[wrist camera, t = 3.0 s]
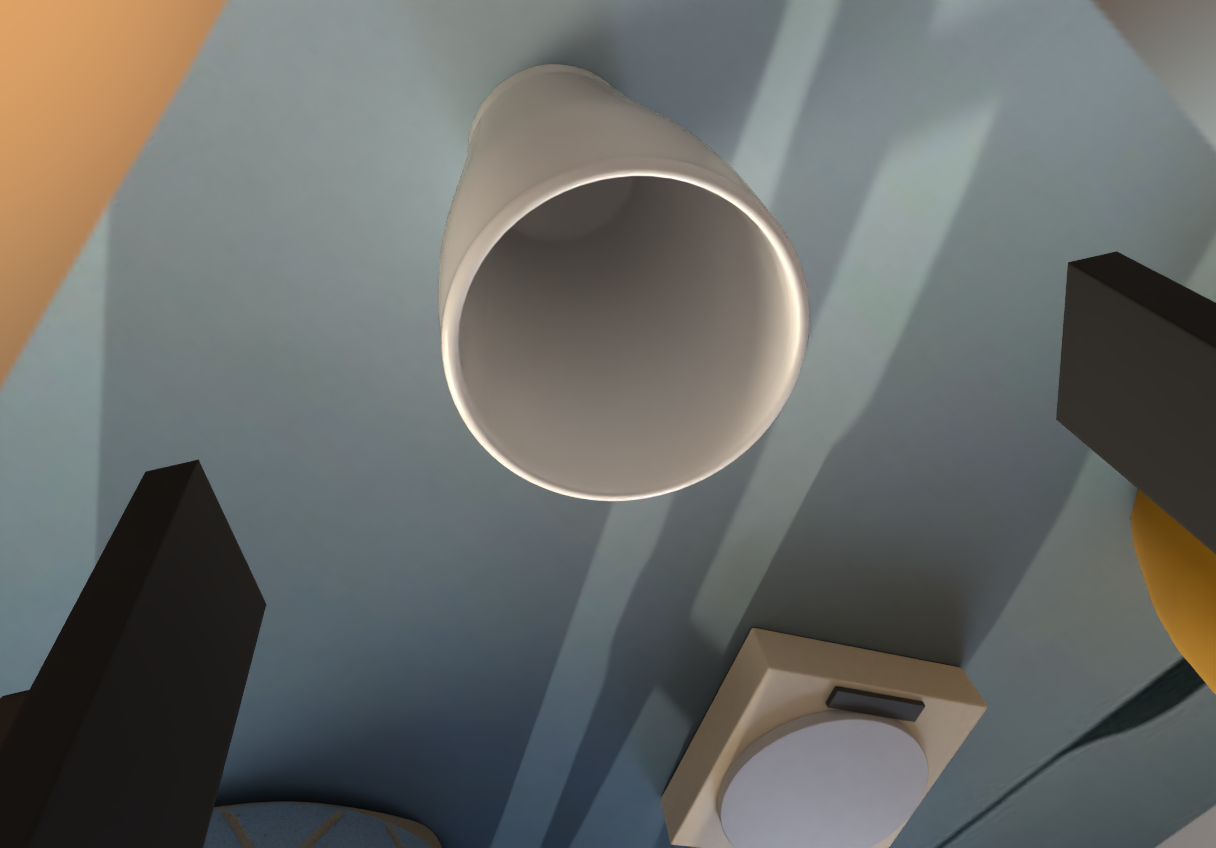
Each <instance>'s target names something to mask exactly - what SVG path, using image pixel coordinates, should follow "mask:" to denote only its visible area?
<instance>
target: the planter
mask: <svg viewBox="0 0 1216 848" xmlns="http://www.w3.org/2000/svg"><path fill="white" fill-rule="evenodd" d="M203 848H442V846H441V844H440V842H439V841H438V839H437V837H436V836H435V834H434V833H433V832H432V831H431V830H430V829H429V828H428V827H426V826H424V825H422V824H420V823H417V822H415V821H412V820H408V819H405V818H401V817H397V816H393V815H389V814H384V813H379V812H374V811H369V810H363V809H358V808H352V807H345V806H338V805H330V804H322V803H310V802H290V801H286V802H257V803H245V804H235V805H227V806H219V807H214V808H213V812H212V816H211V820H210V824H209V828H208V832H207V835H206V839H205V843H204V847H203Z"/></svg>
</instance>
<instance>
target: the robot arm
mask: <svg viewBox="0 0 1216 848" xmlns="http://www.w3.org/2000/svg"><path fill="white" fill-rule="evenodd" d="M1056 420H1058V421H1059V422H1060V423H1061V424H1062V425H1064V426H1065V427H1066V428H1067V429H1068V430H1069V431H1071V432H1072V433H1073V434H1074V435H1075V436H1077V437H1078V438H1079V439H1080V440H1081V441H1082V442H1084V443H1085V444H1086V445H1087V446H1088V447H1090V448H1091V449H1092V450H1093V451H1094V452H1095V453H1097V454H1098V455H1099V456H1100V457H1101V458H1103V459H1104V460H1105V461H1106V462H1107V463H1108V464H1110V465H1111V466H1112V467H1113V468H1114V469H1115V470H1117V471H1118V472H1119V473H1120V474H1121V475H1123V476H1124V477H1125V478H1126V479H1127V480H1128V481H1130V482H1131V483H1132V484H1133V485H1134V486H1136V487H1137V488H1138V489H1139V490H1140V491H1141V492H1143V493H1144V494H1145V495H1146V496H1147V497H1149V498H1150V499H1151V500H1152V501H1153V502H1154V503H1156V504H1157V505H1158V506H1159V507H1160V508H1162V509H1163V510H1164V511H1165V512H1166V513H1167V514H1169V515H1170V516H1171V517H1172V518H1173V519H1174V520H1176V521H1177V522H1178V523H1179V524H1180V525H1182V526H1183V527H1184V528H1185V529H1186V530H1187V531H1189V532H1190V533H1191V534H1192V535H1193V536H1195V537H1196V538H1197V539H1198V540H1199V541H1200V542H1202V543H1203V544H1204V545H1205V546H1206V547H1208V548H1209V549H1210V550H1211V551H1212V552H1213V553H1215V554H1216V303H1215V302H1213V301H1211V300H1209V299H1207V298H1205V297H1203V296H1201V295H1199V294H1197V293H1196V292H1194V291H1192V290H1190V289H1188V288H1186V287H1184V286H1182V285H1180V284H1178V283H1176V282H1174V281H1172V280H1171V279H1169V278H1167V277H1165V276H1163V275H1161V274H1159V273H1157V272H1155V271H1153V270H1151V269H1149V268H1147V267H1146V266H1144V265H1142V264H1140V263H1138V262H1136V261H1134V260H1132V259H1130V258H1128V257H1126V256H1124V255H1122V254H1121V253H1119V252H1112V253H1108V254H1104V255H1099V256H1095V257H1090V258H1086V259H1082V260H1077V261H1073V262H1068V271H1067V284H1066V297H1065V311H1064V324H1063V338H1062V351H1061V364H1060V378H1059V391H1058V404H1057V418H1056ZM265 607H266V603H265V601H264V598H263V596H262V594H261V592H260V590H259V588H258V586H257V583H256V581H255V579H254V577H253V575H252V573H251V571H250V569H249V566H248V564H247V562H246V560H245V558H244V556H243V554H242V551H241V549H240V547H239V545H238V543H237V541H236V539H235V537H234V534H233V532H232V530H231V528H230V526H229V524H228V522H227V519H226V517H225V515H224V513H223V511H222V509H221V507H220V505H219V502H218V500H217V498H216V496H215V494H214V492H213V490H212V488H211V485H210V483H209V481H208V479H207V477H206V475H205V473H204V470H203V468H202V466H201V464H200V462H199V460H195V461H191V462H186V463H182V464H177V465H173V466H169V467H164V468H160V469H155V470H151V471H147V472H145V474H144V476H143V477H142V479H141V481H140V483H139V485H138V487H137V489H136V491H135V492H134V494H133V496H132V498H131V500H130V502H129V504H128V506H127V508H126V509H125V511H124V513H123V515H122V517H121V519H120V521H119V523H118V524H117V526H116V528H115V530H114V532H113V534H112V536H111V538H110V540H109V541H108V543H107V545H106V547H105V549H104V551H103V553H102V555H101V556H100V558H99V560H98V562H97V564H96V566H95V568H94V570H93V572H92V573H91V575H90V577H89V579H88V581H87V583H86V585H85V587H84V588H83V590H82V592H81V594H80V596H79V598H78V600H77V602H76V604H75V605H74V607H73V609H72V611H71V613H70V615H69V617H68V619H67V620H66V622H65V624H64V626H63V628H62V630H61V632H60V634H59V635H58V637H57V639H56V641H55V643H54V645H53V647H52V649H51V651H50V652H49V654H48V656H47V658H46V660H45V662H44V664H43V666H42V667H41V669H40V671H39V673H38V675H37V677H36V679H35V681H34V683H33V684H32V686H31V688H30V690H27V691H23V692H18V693H14V694H10V695H6V696H2V698H1V699H0V848H203V847H204V843H205V839H206V835H207V832H208V828H209V824H210V820H211V816H212V812H213V808H214V804H215V801H216V797H217V793H218V789H219V785H220V781H221V777H222V774H223V770H224V766H225V762H226V758H227V754H228V750H229V746H230V743H231V739H232V735H233V731H234V727H235V723H236V719H237V716H238V712H239V708H240V704H241V700H242V696H243V692H244V688H245V685H246V681H247V677H248V673H249V669H250V665H251V661H252V658H253V654H254V650H255V646H256V642H257V638H258V634H259V630H260V627H261V623H262V619H263V615H264V611H265Z"/></svg>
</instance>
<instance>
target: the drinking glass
mask: <svg viewBox="0 0 1216 848" xmlns="http://www.w3.org/2000/svg"><path fill="white" fill-rule="evenodd" d="M438 306H439V326H440V336H441V344H442V358H443V365H444V372H445V376H446V380H447V384H448V387H449V390H450V393H451V395H452V398H453V401H454V403H455V405H456V407H457V409H458V411H459V413H460V415H461V417H462V419H463V420H464V422H465V424H466V425H467V427H468V428H469V430H470V431H471V433H472V434H473V435H474V436H475V438H476V439H477V440H478V441H479V443H480V444H481V445H482V446H483V447H484V448H485V449H486V450H487V451H488V452H489V453H490V454H491V455H492V456H493V457H494V458H495V459H497V460H498V461H499V462H500V463H501V464H503V465H504V466H505V467H507V468H508V469H509V470H511V471H512V472H514V473H515V474H517V475H518V476H520V477H522V478H524V479H526V480H528V481H529V482H531V483H533V484H536V485H538V486H540V487H543V488H545V489H547V490H551V491H554V492H557V493H560V494H563V495H567V496H572V497H576V498H582V499H589V500H600V501H628V500H637V499H645V498H650V497H655V496H660V495H663V494H667V493H670V492H674V491H677V490H680V489H682V488H685V487H688V486H690V485H693V484H695V483H697V482H699V481H701V480H703V479H705V478H707V477H709V476H711V475H713V474H714V473H716V472H718V471H720V470H721V469H723V468H724V467H726V466H727V465H729V464H730V463H731V462H733V461H734V460H736V459H737V458H738V457H739V456H740V455H742V454H743V453H744V452H745V451H747V450H748V449H749V448H750V447H751V446H752V445H753V444H754V443H755V442H756V441H757V440H758V439H759V438H760V437H761V436H762V435H763V434H764V432H765V431H766V430H767V429H768V428H769V427H770V425H771V424H772V423H773V421H774V420H775V419H776V417H777V416H778V415H779V413H780V412H781V410H782V408H783V407H784V405H785V404H786V402H787V400H788V398H789V396H790V394H791V392H792V390H793V388H794V386H795V384H796V382H797V379H798V376H799V374H800V371H801V368H802V365H803V361H804V358H805V354H806V349H807V343H808V337H809V324H810V313H809V299H808V291H807V285H806V281H805V277H804V273H803V270H802V267H801V264H800V262H799V259H798V256H797V254H796V252H795V250H794V248H793V246H792V244H791V242H790V240H789V238H788V236H787V235H786V233H785V232H784V230H783V229H782V227H781V226H780V224H779V223H778V222H777V221H776V219H775V218H774V217H773V216H772V214H771V213H770V212H769V211H768V209H767V208H766V207H765V205H764V204H763V203H762V202H761V200H760V199H759V198H758V197H757V196H756V194H755V193H754V192H753V191H752V189H751V188H750V187H749V186H748V185H747V183H746V182H745V181H744V180H743V179H742V178H741V177H740V176H739V174H738V173H737V172H736V171H735V170H734V169H733V168H732V167H731V166H730V165H728V164H727V163H726V162H725V161H724V160H723V159H722V158H721V157H720V156H719V155H718V154H717V153H716V152H715V151H714V150H712V149H711V148H710V147H709V146H707V145H706V144H705V143H704V142H702V141H701V140H700V139H699V138H697V137H696V136H695V135H693V134H692V133H691V132H689V131H688V130H686V129H684V128H683V127H681V126H680V125H678V124H676V123H675V122H673V121H672V120H670V119H668V118H666V117H665V116H663V115H661V114H659V113H657V112H655V111H653V110H651V109H649V108H647V107H645V106H643V105H641V104H639V103H637V102H636V101H634V100H632V99H630V98H628V97H626V96H624V95H623V94H621V93H619V92H618V91H617V90H615V89H614V88H613V87H612V86H611V85H610V84H609V83H607V82H606V81H605V80H604V79H602V78H600V77H599V76H597V75H595V74H593V73H591V72H589V71H587V70H584V69H581V68H578V67H574V66H570V65H563V64H546V65H539V66H534V67H531V68H527V69H525V70H522V71H520V72H518V73H516V74H514V75H512V76H510V77H509V78H507V79H506V80H504V81H503V82H502V83H500V84H499V85H498V86H497V87H496V88H495V89H494V90H493V91H492V92H491V93H490V94H489V95H488V96H487V98H486V99H485V100H484V102H483V103H482V105H481V106H480V108H479V110H478V112H477V114H476V116H475V118H474V121H473V123H472V126H471V130H470V134H469V139H468V149H467V158H466V161H465V164H464V167H463V170H462V173H461V176H460V179H459V182H458V185H457V188H456V191H455V194H454V197H453V200H452V204H451V207H450V211H449V214H448V217H447V221H446V225H445V230H444V235H443V240H442V246H441V253H440V264H439V278H438Z"/></svg>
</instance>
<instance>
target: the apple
mask: <svg viewBox="0 0 1216 848" xmlns="http://www.w3.org/2000/svg"><path fill="white" fill-rule="evenodd" d="M1130 519H1131V527H1132V535H1133V543H1134V548H1135V551H1136V554H1137V557H1138V560H1139V564H1140V567H1141V570H1142V573H1143V576H1144V579H1145V582H1146V585H1147V588H1148V592H1149V595H1150V598H1151V601H1152V603H1153V606H1154V608H1155V610H1156V612H1157V614H1158V617H1159V619H1160V621H1161V622H1162V624H1163V626H1164V627H1165V629H1166V631H1167V632H1168V634H1169V636H1170V637H1171V639H1172V641H1173V642H1174V644H1175V646H1176V647H1177V649H1178V650H1179V651H1180V653H1181V654H1182V655H1183V656H1184V657H1185V659H1186V660H1187V661H1188V662H1189V663H1190V665H1191V666H1192V667H1193V668H1194V669H1195V671H1196V672H1197V673H1198V674H1199V675H1200V677H1201V678H1202V679H1203V680H1204V681H1205V683H1206V684H1207V685H1208V686H1209V687H1210V689H1211V690H1212V691H1213V692H1214V693H1215V694H1216V554H1215V553H1213V552H1212V551H1211V550H1210V549H1209V548H1208V547H1206V546H1205V545H1204V544H1203V543H1202V542H1200V541H1199V540H1198V539H1197V538H1196V537H1195V536H1193V535H1192V534H1191V533H1190V532H1189V531H1187V530H1186V529H1185V528H1184V527H1183V526H1182V525H1180V524H1179V523H1178V522H1177V521H1176V520H1174V519H1173V518H1172V517H1171V516H1170V515H1169V514H1167V513H1166V512H1165V511H1164V510H1163V509H1162V508H1160V507H1159V506H1158V505H1157V504H1156V503H1154V502H1153V501H1152V500H1151V499H1150V498H1149V497H1147V496H1146V495H1145V494H1144V493H1143V492H1141V491H1140V490H1139V489H1138V491H1137V495H1136V499H1135V503H1134V506H1133V510H1132V514H1131V517H1130Z"/></svg>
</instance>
